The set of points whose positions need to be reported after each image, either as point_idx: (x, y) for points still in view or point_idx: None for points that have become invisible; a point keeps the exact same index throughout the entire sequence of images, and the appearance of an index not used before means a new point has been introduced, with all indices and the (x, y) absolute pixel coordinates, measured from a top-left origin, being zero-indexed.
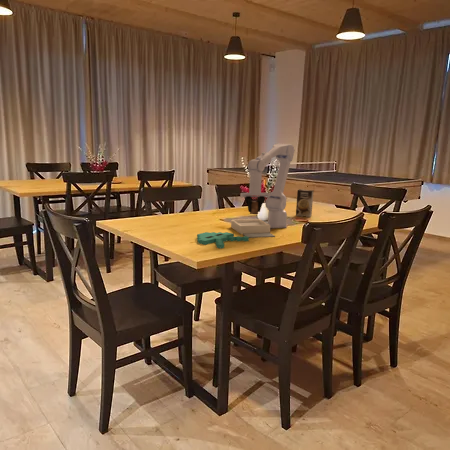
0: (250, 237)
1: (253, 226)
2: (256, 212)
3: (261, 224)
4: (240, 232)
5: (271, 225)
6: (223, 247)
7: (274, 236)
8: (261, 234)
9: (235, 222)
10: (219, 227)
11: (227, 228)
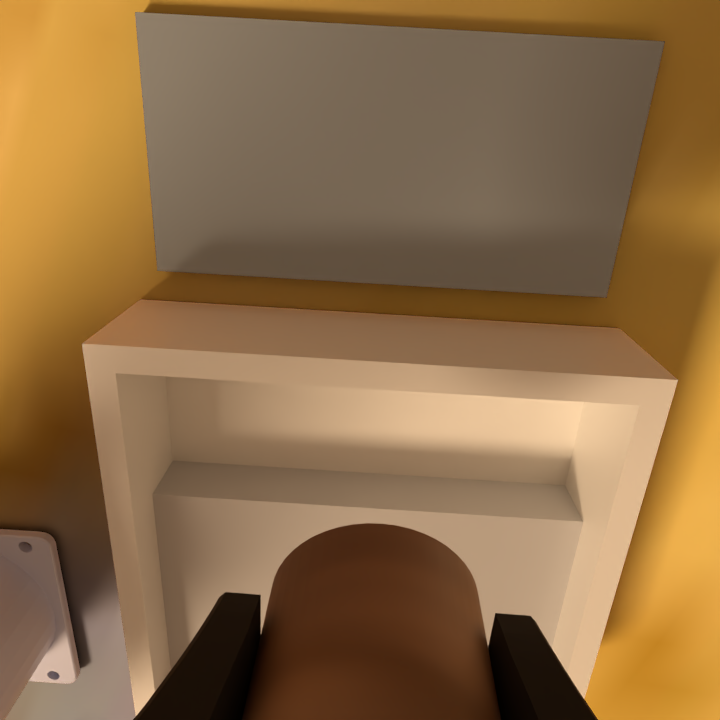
0: (601, 40)
1: (421, 356)
2: (346, 559)
3: (174, 563)
4: (627, 337)
5: (15, 581)
6: None
7: (146, 15)
8: (333, 176)
9: (603, 625)
10: (675, 689)
11: (610, 633)
